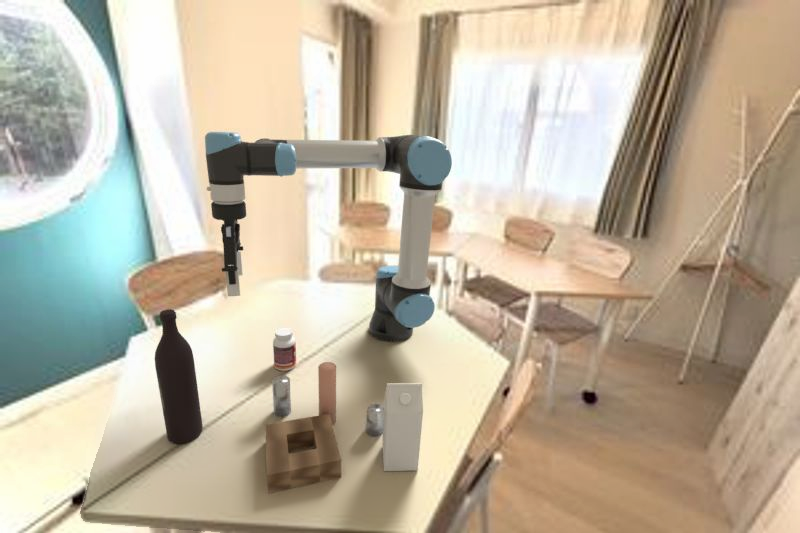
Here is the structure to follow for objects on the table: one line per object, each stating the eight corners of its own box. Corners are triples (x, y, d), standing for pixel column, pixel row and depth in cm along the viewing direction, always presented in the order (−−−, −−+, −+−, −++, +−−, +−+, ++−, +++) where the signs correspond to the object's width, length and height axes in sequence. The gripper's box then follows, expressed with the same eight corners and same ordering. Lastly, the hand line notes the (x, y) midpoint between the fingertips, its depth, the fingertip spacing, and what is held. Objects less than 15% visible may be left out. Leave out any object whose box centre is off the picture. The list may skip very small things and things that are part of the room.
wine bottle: (190, 418, 96) (173, 301, 86) (209, 430, 93) (194, 310, 83) (160, 436, 90) (139, 313, 80) (180, 450, 87) (160, 323, 77)
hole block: (329, 429, 95) (329, 413, 94) (341, 477, 83) (341, 459, 81) (266, 441, 91) (265, 424, 89) (268, 493, 78) (267, 475, 77)
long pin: (334, 414, 100) (334, 361, 95) (337, 425, 97) (337, 370, 92) (317, 416, 99) (317, 363, 94) (320, 428, 95) (319, 373, 90)
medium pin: (290, 405, 102) (289, 374, 99) (291, 415, 99) (290, 384, 96) (273, 407, 101) (271, 376, 98) (274, 418, 98) (272, 386, 95)
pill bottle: (299, 368, 118) (298, 334, 114) (278, 374, 114) (276, 339, 111) (292, 357, 122) (290, 324, 119) (271, 363, 119) (269, 329, 115)
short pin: (380, 423, 98) (381, 402, 96) (385, 435, 95) (386, 413, 93) (364, 426, 97) (365, 405, 95) (368, 438, 93) (369, 416, 91)
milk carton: (382, 446, 91) (385, 373, 85) (413, 445, 92) (419, 373, 86) (383, 471, 85) (387, 395, 78) (417, 471, 85) (424, 394, 79)
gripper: (216, 191, 106) (223, 268, 113) (204, 213, 84) (214, 307, 91) (247, 191, 109) (252, 267, 116) (243, 212, 86) (250, 304, 93)
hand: (235, 284), depth 103 cm, fingers open, 13 cm apart
